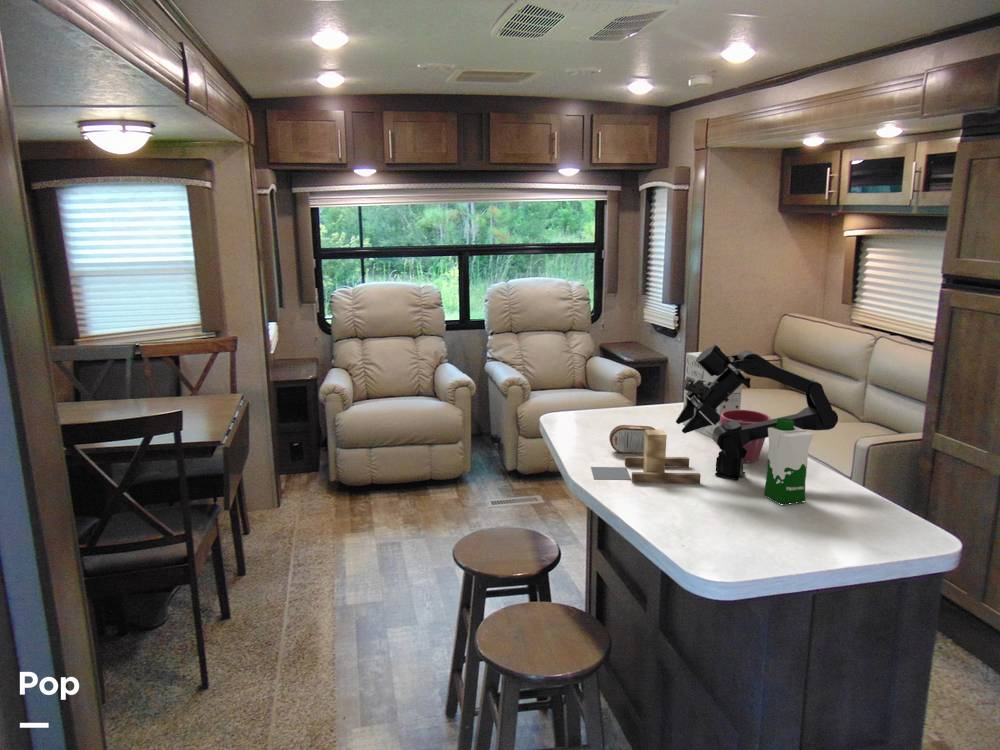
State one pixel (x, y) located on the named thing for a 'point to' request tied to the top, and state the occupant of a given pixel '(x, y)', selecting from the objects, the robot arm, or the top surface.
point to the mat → (611, 473)
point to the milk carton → (787, 462)
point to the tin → (629, 438)
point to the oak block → (654, 451)
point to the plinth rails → (663, 477)
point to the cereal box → (699, 373)
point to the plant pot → (745, 419)
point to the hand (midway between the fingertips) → (679, 427)
